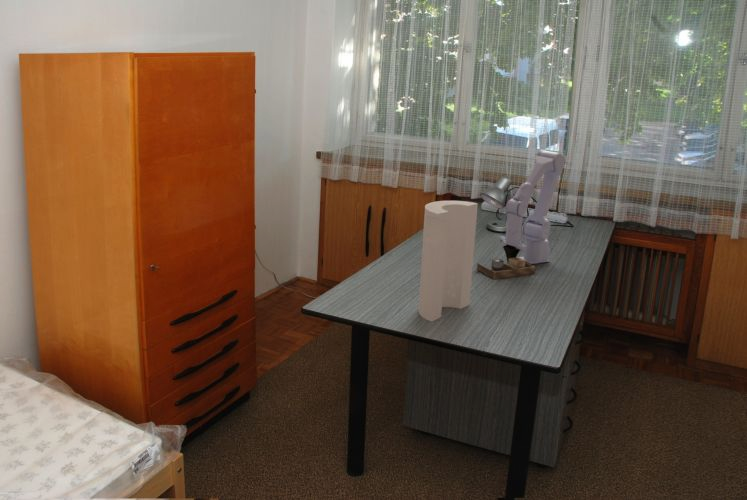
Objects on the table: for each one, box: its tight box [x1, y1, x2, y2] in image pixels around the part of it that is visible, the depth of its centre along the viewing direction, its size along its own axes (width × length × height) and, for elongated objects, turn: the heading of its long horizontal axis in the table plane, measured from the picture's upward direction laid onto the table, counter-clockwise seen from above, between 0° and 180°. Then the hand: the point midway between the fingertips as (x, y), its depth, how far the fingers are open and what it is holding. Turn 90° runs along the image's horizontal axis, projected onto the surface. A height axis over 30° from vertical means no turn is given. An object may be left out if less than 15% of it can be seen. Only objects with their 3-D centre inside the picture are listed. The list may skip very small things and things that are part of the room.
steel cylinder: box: [490, 258, 505, 272], centre depth 279 cm, size 4×4×5 cm
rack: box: [476, 262, 536, 280], centre depth 281 cm, size 19×11×2 cm, turn 117°
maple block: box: [507, 256, 525, 269], centre depth 282 cm, size 4×4×4 cm
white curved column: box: [418, 200, 478, 323], centre depth 237 cm, size 35×11×21 cm
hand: (510, 263), depth 286 cm, fingers closed
